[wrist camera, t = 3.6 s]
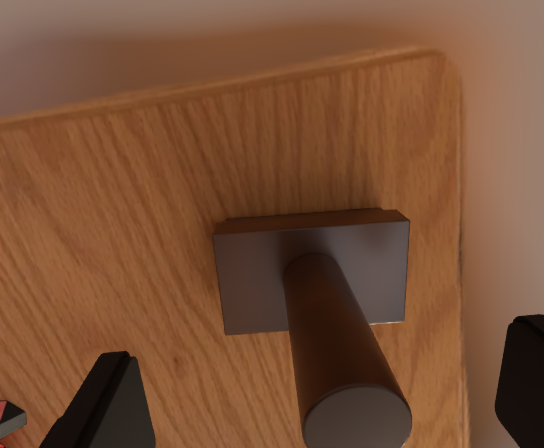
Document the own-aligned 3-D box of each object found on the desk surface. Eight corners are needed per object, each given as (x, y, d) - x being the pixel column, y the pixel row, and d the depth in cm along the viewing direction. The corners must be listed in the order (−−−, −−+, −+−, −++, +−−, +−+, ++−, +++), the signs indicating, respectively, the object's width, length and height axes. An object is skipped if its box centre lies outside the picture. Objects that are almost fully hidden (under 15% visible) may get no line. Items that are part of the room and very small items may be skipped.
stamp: (386, 201, 16) (550, 326, 7) (383, 290, 17) (515, 490, 8) (219, 213, 16) (166, 356, 7) (230, 302, 17) (197, 515, 8)
